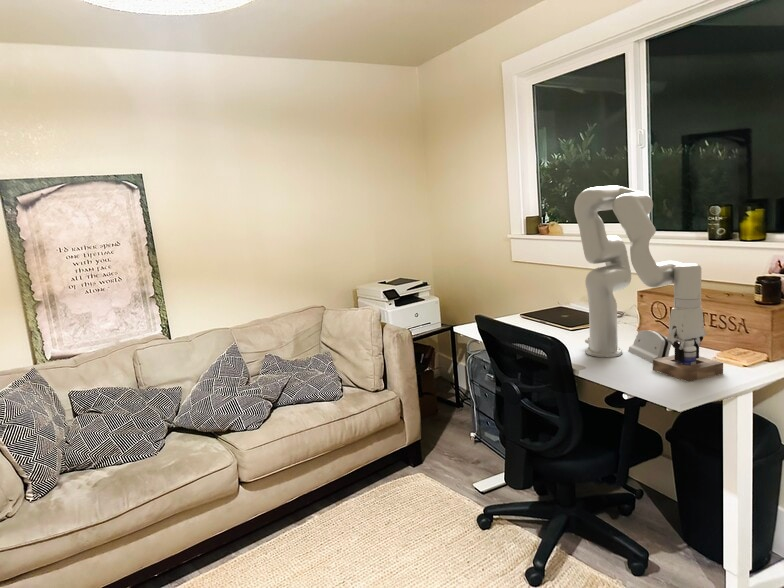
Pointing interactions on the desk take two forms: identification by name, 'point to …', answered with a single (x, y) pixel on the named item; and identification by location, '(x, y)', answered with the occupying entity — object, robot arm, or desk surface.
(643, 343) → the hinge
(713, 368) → the socket block
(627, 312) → the desk surface
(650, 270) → the robot arm
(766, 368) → the desk surface
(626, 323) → the desk surface
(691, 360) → the pill bottle
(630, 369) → the desk surface
